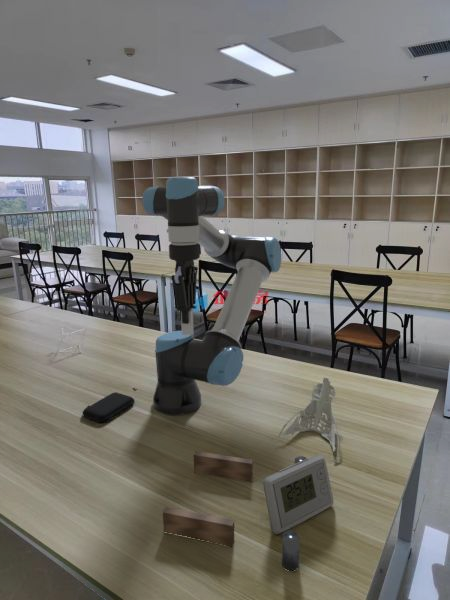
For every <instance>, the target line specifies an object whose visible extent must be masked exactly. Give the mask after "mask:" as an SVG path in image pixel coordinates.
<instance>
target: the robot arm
mask: <svg viewBox="0 0 450 600" xmlns="http://www.w3.org/2000/svg"><path fill="white" fill-rule="evenodd" d="M198 184H199V183H198V179H197V178H196V177H193V176H192V177H191V176H190V177H187V176H185V177H184V176H180V177H169V178H167V179H166V182H165V185H166V186H160V185H158V186H151V187H148V188H146V189H145V190H144V192H143V194H142V198H141V199H142V201H141V202H142V207H143V209H144V211H145V213H147V214H149V215H154V216H161V217H162V218H164V219H165V220H167V228H166V233H168V242H170V243H169V245H168V257H169V259H170V260H171V261H175V268H174V273H175V274H174V275H173V274H172V275H171V277H170V279H171V281H172V284H173V291H174V296H175V304H176V311H178V312H179V311H180V320H181V321H180V322H181V325H180V326H181V330H174V331H173V330H172V331H169V332H166V333H164V334H161V335H159V336H158V337H157V338H156V340H155V350H154V353H155V363H156V365H155V366H156V375H157V383H156V386H155V389H154V394H153V398H152V404H153V405H152V406H153V407H154V409H155V411H157V412H158V413H161V414H163V415H171V416H179V415H187V414H189V413H192V412H193V411H196V410H197V409H199V408H200V406H201V405H202V394H201V393H202V392H201V391H200V388H199V385H198V384H197V381H199V382H202V383H207V384H210V385H213V386H220V387H221V386H222V387H224V386H225V387H226V386H229V385H231V384H233V383H234V381H236V380H237V378H238V376H239V375H240V374H241V372H242V371H241V370H242V368H243V366H244V363H243V362H244V353H243V350H242V345H241V343H240V338H241V335H242V333H243V332H244V331H243V330H244V328H245V326H246V324H247V321H248V318H249V316H250V314H251V310H252V308H253V305H254V302H255V301H256V298H257V296H258V293H259V291H260V288H261V286H262V284H263V282H266V281H267V280H268V279H269V278H270V275H271V273H273V274H274V273H278V272H279V270H281V265H282V249H281V245H280V242H279V240H278V239H277V238H276V237H271V236H266V235H265V236H254V235H253V236H252V235H238V234H237V235H236V234H235V235H234V234H228V233H227V232H225V231H224V230H221V229H217V227H215V226H214V225H213V224H212V223H211V222H210V221H209V220H207V219H206V218H205V217H206V216H213V215H216V214H219V213H220V212H221V211H223V209H224V206H225V202H226V200H225V195H224V192H223V191H222V189H220V188H219V187H218V186H214V185H210V184H209V185H198ZM200 246H201V248H203V249H204V252H205V254H206V255H208V256H209V257H210V258H212V259H213V260H214V261H216V262H218V263H220V264H221V265H224V266H226V267H228V268H232V269H236V271H237V274H236V276H235V278H234V280H233V282H232V284H231V287H230V289H229V292H228V294H227V295H226V299H225V300H224V303H223V305H222V308H221V310H220V312H219V314H218V317H217V319H216V321H215V323H214V326H213V328H212V329H211V330H207V331H206V332H205V334H204V336H203V338H202V340H200V339H196V338H195V335H194V310H195V309H196V308H197V305H195V304H196V301H197V276H198V271H199V268H198V266H195V262H194V261H195V260H196V261H197V260H198V259H200V257H201V256H200V255H201V254H200V253H201V252H200V251H201V250H200ZM193 309H194V310H193ZM194 338H195V339H194Z"/></svg>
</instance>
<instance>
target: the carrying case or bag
mask: <svg viewBox="0 0 450 600" xmlns="http://www.w3.org/2000/svg"><path fill="white" fill-rule="evenodd" d="M134 404H135V398H133V397H132V396H130V395H126V394H124V393H120V392H112V393H110V394H108V395H107V396H105V397H103V398H101V399H100V400H98V401H96V402H94V403H93V404H91V405H88V406H87V407H85V408H84V409H83V411H82V416H83V418H85V419H88V420H90V421H93V422H95V421H96V423H99V424H107V423H108V422H110V420H113V419H115V416H116V417H117V416H119V415H120V414H122V413H123V412H124V411H126V410H128V409H129V408H131V407H132V406H133V405H134Z"/></svg>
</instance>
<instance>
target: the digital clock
mask: <svg viewBox="0 0 450 600" xmlns="http://www.w3.org/2000/svg"><path fill="white" fill-rule="evenodd" d="M330 481H331V480H330V477H329V471H328V467H327V463H326V458H325V456H324V454H317V455H313V456H312V457H309V458H307V459H305V460H303V461H300V462H298V463H296V464H295V463H294V464H292V465H289V466H287V467H285V468H282V469H280V470H279V471H277V472H275V473H273V474H270V475H269V476H267V477H265V478H264V479H263V480H262V485H263V487H262V488H263V491H264V492H263V493H264V497H265V503H266V507H267V513H268V518H269V523H270V528H271V530H272V532H273V534H275V535H279V534H281V533H283V532H286V531H289V530H290V529H291V527H292V528H294V527H296V526H297V524H298V525H300V524H301V523H303V522H305V521H307V520H309V519H310V518H312V517H314V516H316V515H318V514H319V513H322V512H323V511H325V510H326V509H329V508H330V507H332V506H333V505H334V497H333V491H332V486H331V483H330Z"/></svg>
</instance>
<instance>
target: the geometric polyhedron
mask: <svg viewBox="0 0 450 600" xmlns="http://www.w3.org/2000/svg"><path fill="white" fill-rule="evenodd" d="M74 329H78V330H75V331H73V332H69V333H68V332H67V331H66V330H65V328H64V327H61V328H60V334H59V339H58V343H57V350H56V353H58V354H59V353H60V354H61V353H62V354H64V353H65V354H71V352H70V351H69V352H63V351H65V350H68V349H72V348H75V349H76V350H78V351H79V352H80V354H82V353H83V349H84V343H85V339H86V338H85V337H86V330H87V328H86V327H74ZM83 330H84V331H83ZM80 331H83V333H82V334H81V338H80V340H79V343H78V341H76V339H74V338H73V337H72V336H71V334H73V333H76V332H77V333H78V332H80ZM64 332H65V333H66V334H64ZM61 336H62V337H61ZM66 336H69V337H70V338H71V339H72V340H73V341H74V342H76V344H77V345H74V344H73V343H72V342H71V341H70V340H69V339H68V338H66ZM64 338H65V339H66V340H67V341H68V342H69V343H70V344H71V345H72V346H71V347H68V348H65V349H62V350H60V347H61V345H62V342H63V339H64ZM82 339H83V342H82ZM81 342H82V347H81V345H80V344H81ZM77 346H79V347H78V348H79V349H78V348H77ZM59 350H60V351H59Z"/></svg>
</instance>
